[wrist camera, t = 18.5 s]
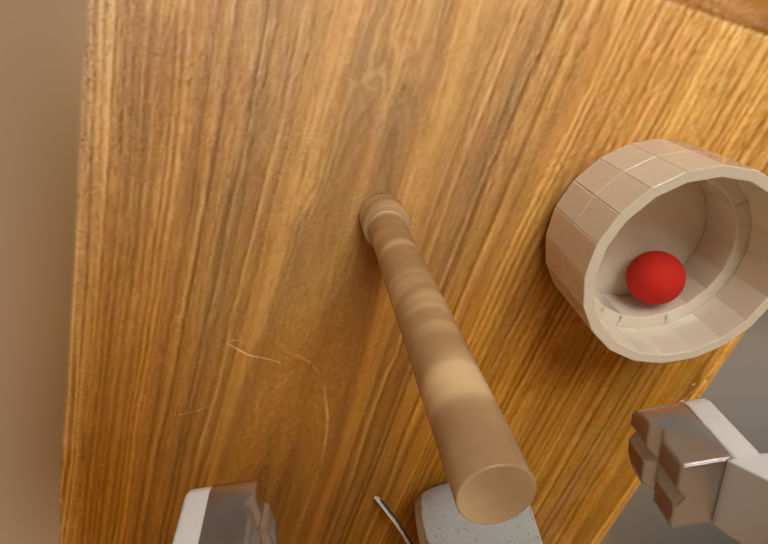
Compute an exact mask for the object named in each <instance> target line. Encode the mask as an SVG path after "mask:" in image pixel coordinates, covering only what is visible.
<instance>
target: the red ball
mask: <svg viewBox="0 0 768 544" xmlns="http://www.w3.org/2000/svg"><path fill="white" fill-rule="evenodd" d="M685 283H686V272H685V269H684V267H683V265H682V264H681V262H680V261H679V260H678V259H677V258H676V257H674V256H673V255H671V254H669V253H667V252H663V251H648V252H645V253H642V254H640V255H639V256H637V257H636V258H635V259H634V260H633V261H632V262H631V263H630V264H629V266H628V268H627V272H626V284H627V287H628V289H629V291H630V292H631V293H632V295H633V296H634V297H636V298H637V299H638V300H640V301H642V302H645V303H648V304H653V305H659V304H665V303H668V302H670V301H672V300H674V299H675V298H676V297H678V296H679V295H680V293H681V292H682V291H683V289H684V286H685Z"/></svg>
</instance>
